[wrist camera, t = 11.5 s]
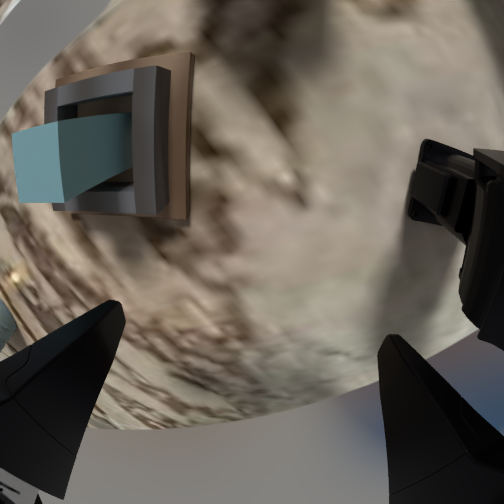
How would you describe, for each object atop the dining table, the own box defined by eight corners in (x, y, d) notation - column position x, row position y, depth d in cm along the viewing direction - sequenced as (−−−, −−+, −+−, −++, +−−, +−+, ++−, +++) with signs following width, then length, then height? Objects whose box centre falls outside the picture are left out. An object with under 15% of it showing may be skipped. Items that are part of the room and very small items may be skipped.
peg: (133, 112, 16) (57, 121, 9) (134, 166, 18) (64, 202, 11) (90, 117, 16) (12, 133, 9) (91, 167, 18) (19, 202, 11)
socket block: (194, 55, 15) (178, 44, 12) (189, 214, 20) (175, 234, 17) (63, 79, 15) (35, 80, 12) (70, 209, 21) (46, 224, 18)
